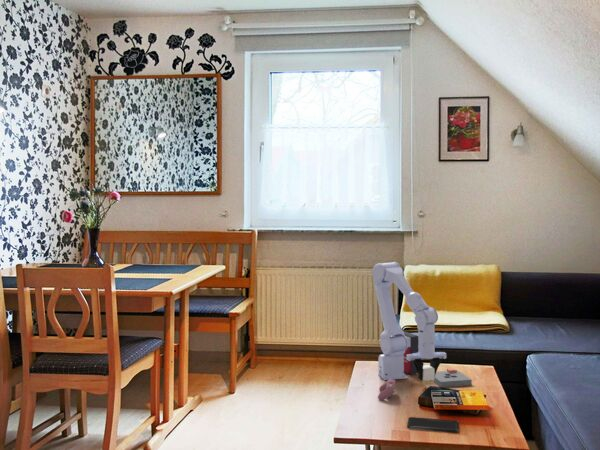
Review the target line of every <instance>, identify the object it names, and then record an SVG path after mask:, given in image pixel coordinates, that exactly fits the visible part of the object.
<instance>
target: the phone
mask: <svg viewBox="0 0 600 450" xmlns="http://www.w3.org/2000/svg"><path fill="white" fill-rule="evenodd" d="M406 428H407V429H409V430H419V431H427V432H441V433H449V434H450V433H452V434H458V433H459V431H460V429H459V428H460V425H459V420H454V419H453V420H451V419H441V418H428V417H417V416H415V417H414V416H410V417H408V419H407V423H406Z"/></svg>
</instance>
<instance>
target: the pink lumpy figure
mask: <svg viewBox="0 0 600 450" xmlns="http://www.w3.org/2000/svg"><path fill="white" fill-rule="evenodd" d="M395 385H396V379H390V380H386V382H385V383H383V384H381V386H380V387H379V390H378V391H379V392H380V393H379V394H378V395H377V399H378V400H379V401H385V400H387V399H390V397H391V396H392V395H393V394H396V390H395V389H396V386H395Z"/></svg>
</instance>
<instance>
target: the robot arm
mask: <svg viewBox="0 0 600 450" xmlns="http://www.w3.org/2000/svg"><path fill="white" fill-rule="evenodd" d="M371 273H372V279H373V282H374V283H373V285H374V290H375V295H376V299H377V305H378V307H379V308H378V309H379V313H380V317H381V321H382V327H383V331H382V332H381V334H380V335H379V338H380V344H379V345H380V346H379V347H380V349H381V351H382V354H379V355H378V360H377V361H378V365H377V366H378V372H377V375H378V376H379V377H381V379H382V380H384V381H388V380H390V379H393V380H401V379H402V380H403V379H408V376H407V375H406V374H405V372H404V353H405V350H406V349H407V348H408V341H407V338H406V337H405V335H404V331H405V330H403V329H401V328H400V327H399V325H398V321H397V318H396V313H395V309H394V304H393V299H392V295H391V290H390V286H391V285H392V284H394V285H395V286H396V287H397V288H398V289H399V290H400V292H401V293H402V294H403V296H405V303H406V304H407V306H408V307H409V308H410V310H411V311H412V313H413V314H414V315H415V316H414V321H415V323H416V328H417V330H418V331H417V333H418V334H417V336H418V348H417V353H413V354H407V360H408V361H411V360H412V361H413V363H414V365H415V367H416V370H417V377H418V380H419V381H422V380H423V365H425V363H424V362H423V360H429V365H430V366H431V367H433V368H434V374H436V372H438V369H439V366H440V365H441V363H442V360H441V359H444V360H445V359H447V352H445V351H435V332H436V331H435V328H436V327H435V324H436V323H437V322H438V320H439V316H438V312H437V311H436V309H435V308H434V307H431V306H429V305H428V304H427V303H426V301H425V300H424V298H423V297H422V295H421V294H420V293H419V292H417V291H416V292H415V291H414V290H413V288H412V287H411V285H410V283H409V282H408V280H407V279H406V277H405V275H404V274H403V268H402V267H401V266H400V263H398V262H397V261H392V262H384V263H383V262H382V263H376V264H374V266H373V268H372V270H371Z"/></svg>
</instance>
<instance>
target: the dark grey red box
mask: <svg viewBox="0 0 600 450" xmlns="http://www.w3.org/2000/svg"><path fill="white" fill-rule="evenodd" d="M403 331H404V335H405V337H406V338H407V341H408V348H407V349H406V350H405V353H404V373H406V374H409V375H411V376H412V375H418V373H417V370H416V367H415V365H414V363H413V361H412V360H411V361H408V360H407V354H413V353H418V334H414V333H411V332H407V331H405V330H403Z"/></svg>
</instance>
